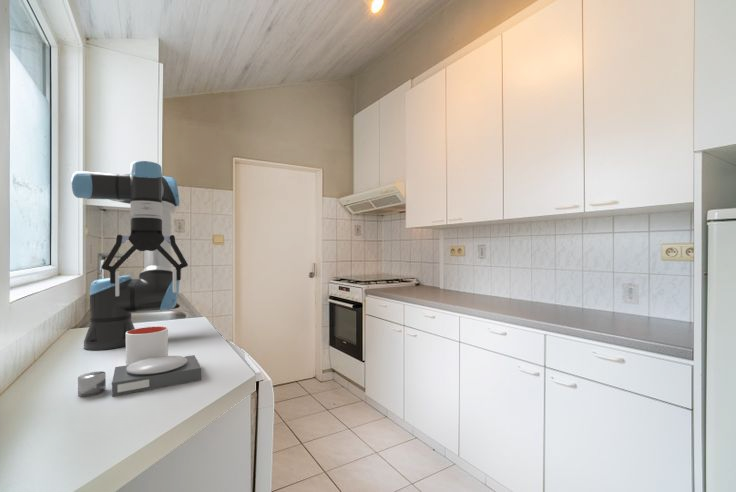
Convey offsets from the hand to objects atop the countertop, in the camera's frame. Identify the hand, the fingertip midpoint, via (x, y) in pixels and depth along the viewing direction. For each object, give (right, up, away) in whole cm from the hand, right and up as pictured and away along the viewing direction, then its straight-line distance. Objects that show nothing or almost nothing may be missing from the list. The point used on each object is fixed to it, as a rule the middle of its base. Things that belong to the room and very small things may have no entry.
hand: (147, 294), depth 101 cm
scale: (+9, -20, -11) cm, 24 cm away
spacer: (-1, -20, -19) cm, 27 cm away
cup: (0, -20, 0) cm, 20 cm away
